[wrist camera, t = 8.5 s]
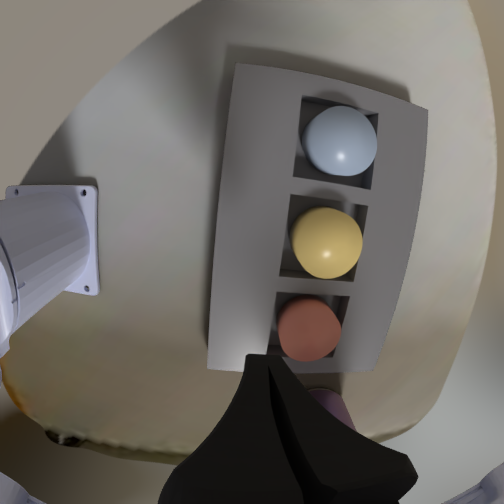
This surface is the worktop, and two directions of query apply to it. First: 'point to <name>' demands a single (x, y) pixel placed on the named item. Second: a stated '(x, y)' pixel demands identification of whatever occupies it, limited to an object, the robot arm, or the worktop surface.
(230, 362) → the panel
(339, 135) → the slate button
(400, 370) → the worktop surface
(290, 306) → the brick button
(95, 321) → the worktop surface
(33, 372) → the worktop surface
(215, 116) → the worktop surface
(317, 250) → the ochre button
